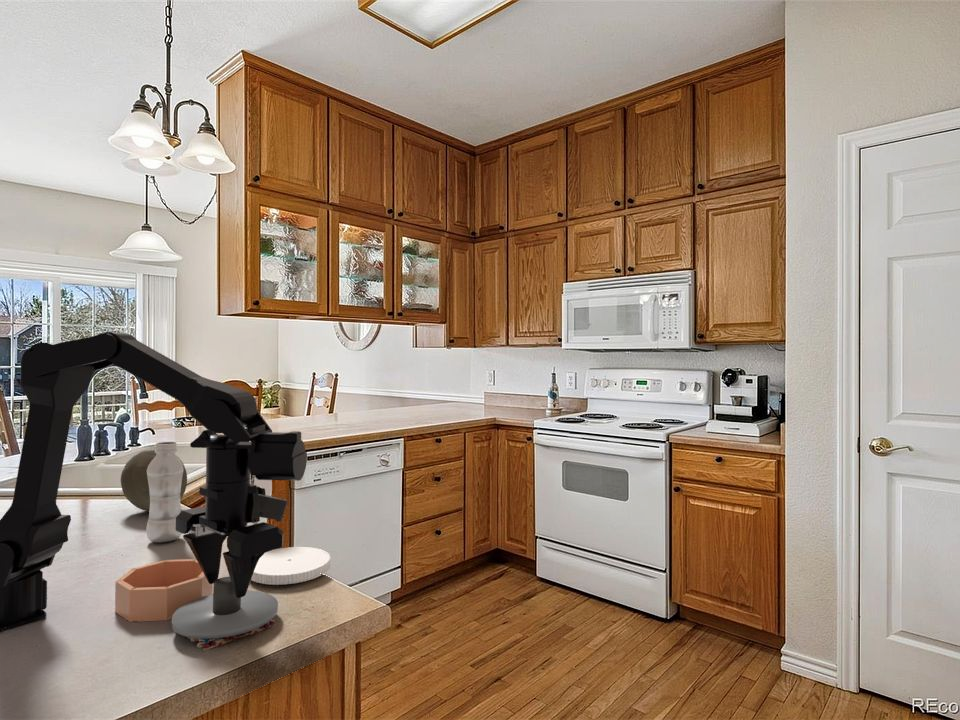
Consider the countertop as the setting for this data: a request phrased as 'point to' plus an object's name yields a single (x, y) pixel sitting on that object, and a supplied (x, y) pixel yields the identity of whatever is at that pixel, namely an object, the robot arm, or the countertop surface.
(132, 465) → the cantaloupe
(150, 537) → the plastic bottle
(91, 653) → the countertop surface
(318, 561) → the plastic lid
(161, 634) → the countertop surface
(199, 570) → the bowl
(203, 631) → the cover
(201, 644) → the woven mat
